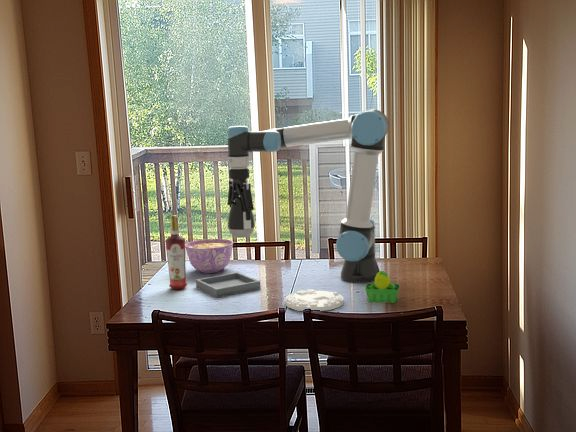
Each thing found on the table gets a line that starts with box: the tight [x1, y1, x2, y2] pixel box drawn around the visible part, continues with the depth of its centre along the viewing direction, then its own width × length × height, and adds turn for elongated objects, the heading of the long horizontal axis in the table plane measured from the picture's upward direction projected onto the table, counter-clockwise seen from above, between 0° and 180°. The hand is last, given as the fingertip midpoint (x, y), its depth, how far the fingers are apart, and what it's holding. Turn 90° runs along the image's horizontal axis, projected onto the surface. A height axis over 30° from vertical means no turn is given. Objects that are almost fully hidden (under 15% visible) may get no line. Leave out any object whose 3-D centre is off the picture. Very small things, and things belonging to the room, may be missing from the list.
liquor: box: [164, 214, 188, 291], centre depth 275 cm, size 7×7×28 cm
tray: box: [195, 271, 261, 298], centre depth 274 cm, size 18×18×3 cm
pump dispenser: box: [227, 196, 256, 239], centre depth 274 cm, size 10×10×15 cm
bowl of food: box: [185, 238, 234, 274], centre depth 302 cm, size 20×20×12 cm
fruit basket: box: [364, 270, 401, 304], centre depth 248 cm, size 11×9×11 cm
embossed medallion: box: [284, 288, 344, 312], centre depth 249 cm, size 20×20×3 cm
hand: (240, 226), depth 275 cm, fingers closed on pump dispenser, 10 cm apart
